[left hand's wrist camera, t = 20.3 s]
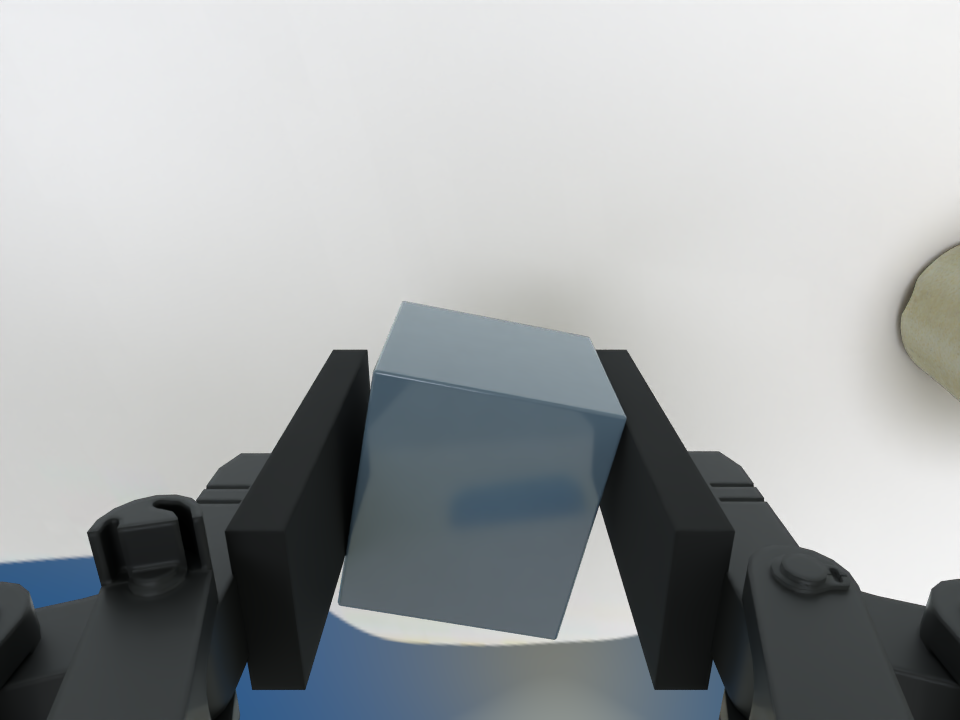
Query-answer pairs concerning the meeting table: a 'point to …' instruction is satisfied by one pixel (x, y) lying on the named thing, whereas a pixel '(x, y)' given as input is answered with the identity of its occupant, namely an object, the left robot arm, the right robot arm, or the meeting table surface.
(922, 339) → the flower pot
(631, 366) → the left robot arm
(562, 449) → the block
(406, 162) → the meeting table surface
